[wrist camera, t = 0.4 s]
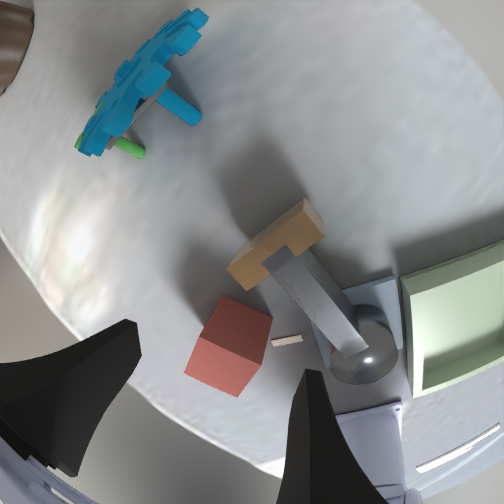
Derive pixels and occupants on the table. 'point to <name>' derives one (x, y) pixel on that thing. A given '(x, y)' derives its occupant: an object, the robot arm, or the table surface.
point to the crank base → (371, 293)
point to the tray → (454, 319)
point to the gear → (143, 88)
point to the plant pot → (13, 40)
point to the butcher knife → (454, 452)
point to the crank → (318, 295)
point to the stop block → (230, 346)
